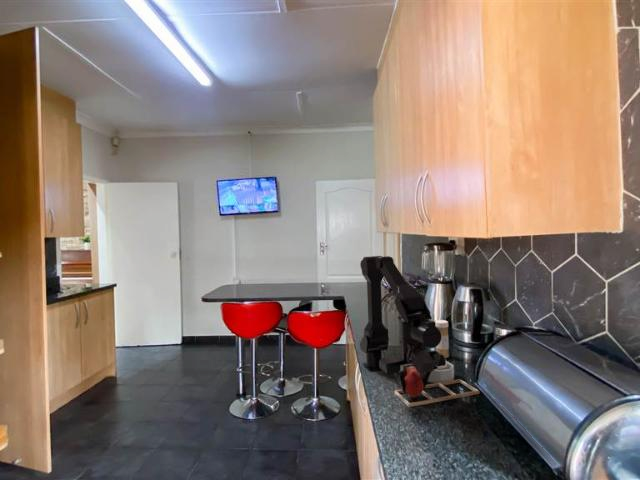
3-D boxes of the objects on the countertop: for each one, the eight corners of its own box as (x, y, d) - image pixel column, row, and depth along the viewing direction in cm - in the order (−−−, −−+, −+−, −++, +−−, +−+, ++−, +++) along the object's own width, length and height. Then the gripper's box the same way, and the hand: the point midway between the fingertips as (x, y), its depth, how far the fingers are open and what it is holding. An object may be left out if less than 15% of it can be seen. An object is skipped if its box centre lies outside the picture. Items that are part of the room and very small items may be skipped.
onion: (420, 392, 109) (419, 366, 109) (426, 401, 103) (425, 373, 103) (401, 393, 109) (400, 367, 109) (406, 402, 103) (405, 375, 103)
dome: (421, 370, 122) (421, 352, 122) (440, 367, 124) (440, 349, 124) (434, 378, 115) (433, 359, 115) (453, 375, 117) (453, 356, 117)
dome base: (403, 376, 122) (402, 362, 121) (441, 369, 125) (441, 356, 125) (418, 387, 112) (417, 373, 112) (459, 380, 116) (459, 366, 116)
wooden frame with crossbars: (394, 393, 109) (393, 390, 109) (460, 381, 116) (459, 379, 116) (409, 407, 101) (408, 404, 101) (479, 393, 107) (479, 390, 107)
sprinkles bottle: (434, 354, 140) (433, 320, 140) (445, 353, 140) (444, 319, 140) (439, 359, 135) (438, 323, 135) (451, 358, 136) (450, 322, 135)
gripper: (395, 350, 95) (397, 409, 96) (456, 341, 100) (458, 397, 101) (377, 338, 106) (379, 391, 107) (433, 331, 111) (435, 381, 112)
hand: (413, 390), depth 106 cm, fingers closed on onion, 6 cm apart
